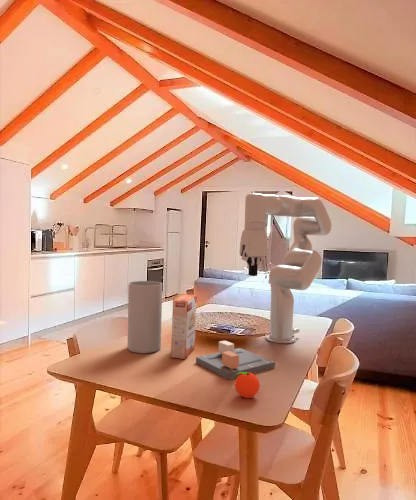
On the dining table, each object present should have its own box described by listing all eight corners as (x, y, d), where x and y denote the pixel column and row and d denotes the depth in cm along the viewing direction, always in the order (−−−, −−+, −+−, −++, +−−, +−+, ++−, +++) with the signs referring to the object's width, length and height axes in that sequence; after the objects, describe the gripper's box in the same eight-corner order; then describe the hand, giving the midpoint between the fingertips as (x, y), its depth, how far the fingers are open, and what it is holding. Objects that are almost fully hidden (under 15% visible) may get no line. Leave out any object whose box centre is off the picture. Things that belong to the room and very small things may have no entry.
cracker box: (186, 360, 144) (188, 301, 143) (170, 358, 146) (171, 300, 144) (195, 348, 158) (197, 294, 157) (180, 346, 159) (182, 293, 158)
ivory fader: (224, 351, 147) (225, 340, 147) (233, 355, 143) (234, 344, 143) (218, 352, 146) (218, 341, 145) (227, 356, 142) (227, 345, 141)
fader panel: (239, 353, 154) (240, 347, 154) (274, 367, 139) (274, 361, 139) (196, 362, 142) (196, 356, 142) (229, 379, 127) (229, 373, 127)
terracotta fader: (228, 362, 136) (229, 350, 135) (238, 367, 132) (239, 355, 131) (221, 364, 134) (222, 352, 134) (231, 369, 130) (232, 356, 129)
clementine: (227, 398, 114) (228, 373, 113) (235, 389, 120) (235, 365, 120) (255, 404, 111) (256, 378, 110) (261, 394, 117) (262, 370, 117)
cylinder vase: (138, 356, 147) (140, 287, 145) (121, 347, 156) (122, 282, 154) (167, 349, 155) (168, 284, 153) (149, 342, 164) (150, 280, 163)
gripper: (262, 226, 161) (260, 273, 162) (232, 226, 152) (231, 275, 153) (275, 227, 155) (273, 275, 156) (246, 226, 146) (244, 278, 147)
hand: (252, 275), depth 155 cm, fingers closed
